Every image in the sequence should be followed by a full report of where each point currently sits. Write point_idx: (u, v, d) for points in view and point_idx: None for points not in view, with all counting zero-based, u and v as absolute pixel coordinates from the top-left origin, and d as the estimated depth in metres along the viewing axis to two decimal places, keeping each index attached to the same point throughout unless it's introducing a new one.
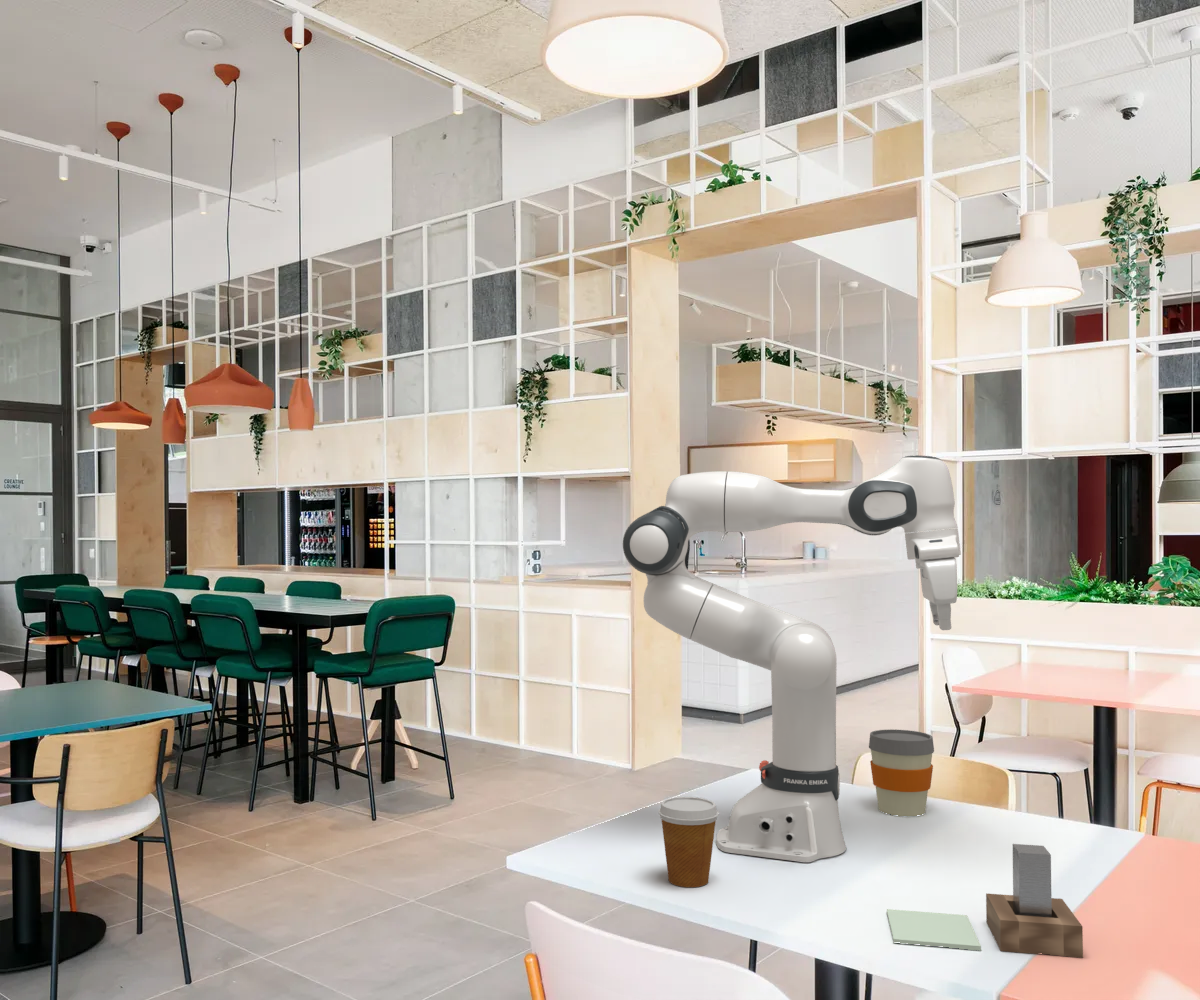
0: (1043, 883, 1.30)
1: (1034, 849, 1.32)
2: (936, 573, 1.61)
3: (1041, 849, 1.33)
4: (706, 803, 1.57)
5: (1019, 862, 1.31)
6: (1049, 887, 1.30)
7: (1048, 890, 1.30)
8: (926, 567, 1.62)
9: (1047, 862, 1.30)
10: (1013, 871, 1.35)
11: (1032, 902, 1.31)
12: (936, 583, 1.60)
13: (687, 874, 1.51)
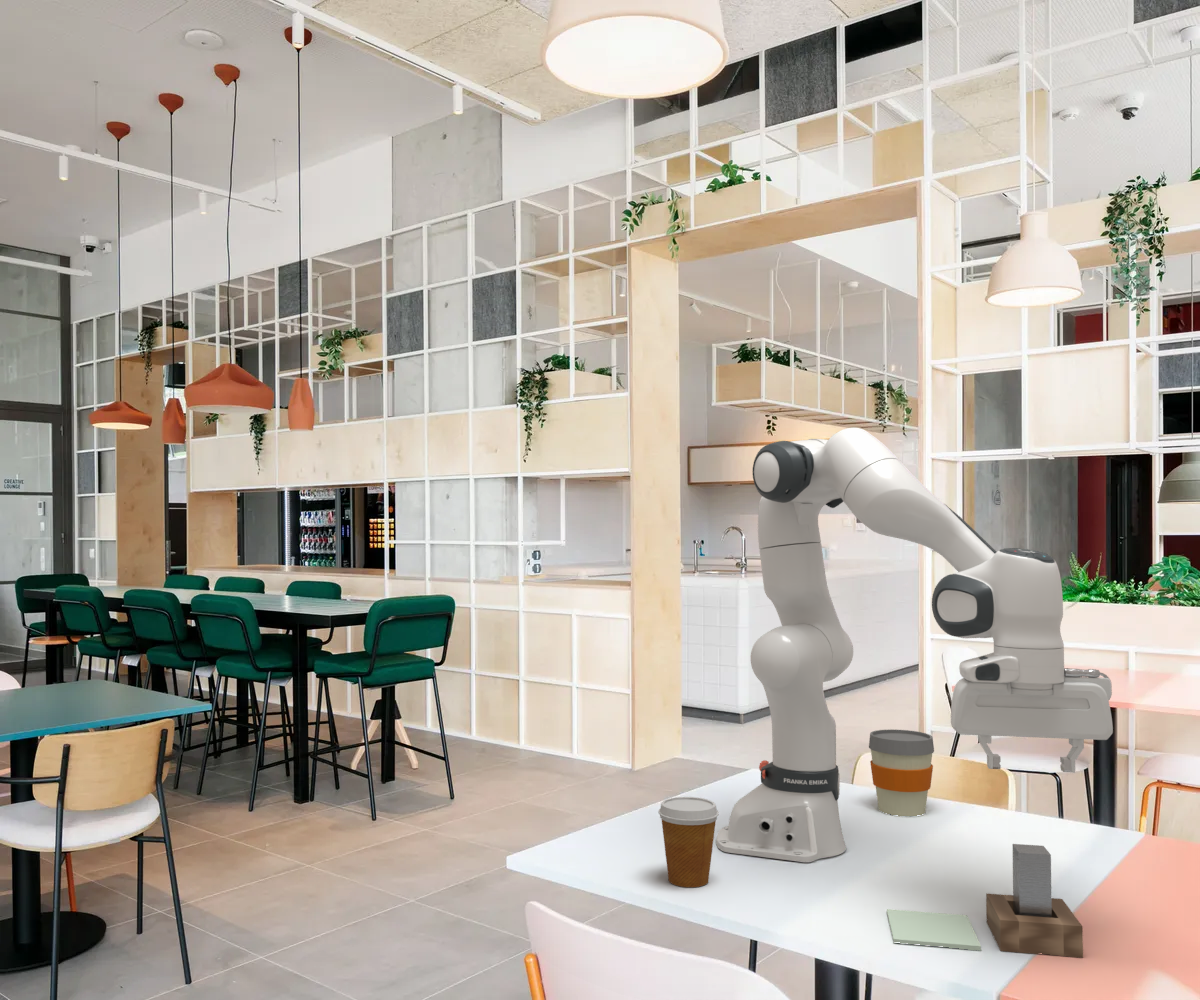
0: (1043, 883, 1.30)
1: (1034, 849, 1.32)
2: (954, 694, 1.37)
3: (1041, 849, 1.33)
4: (706, 803, 1.57)
5: (1019, 862, 1.31)
6: (1049, 887, 1.30)
7: (1048, 890, 1.30)
8: (956, 685, 1.38)
9: (1047, 862, 1.30)
10: (1013, 871, 1.35)
11: (1032, 902, 1.31)
12: (952, 705, 1.37)
13: (687, 874, 1.51)
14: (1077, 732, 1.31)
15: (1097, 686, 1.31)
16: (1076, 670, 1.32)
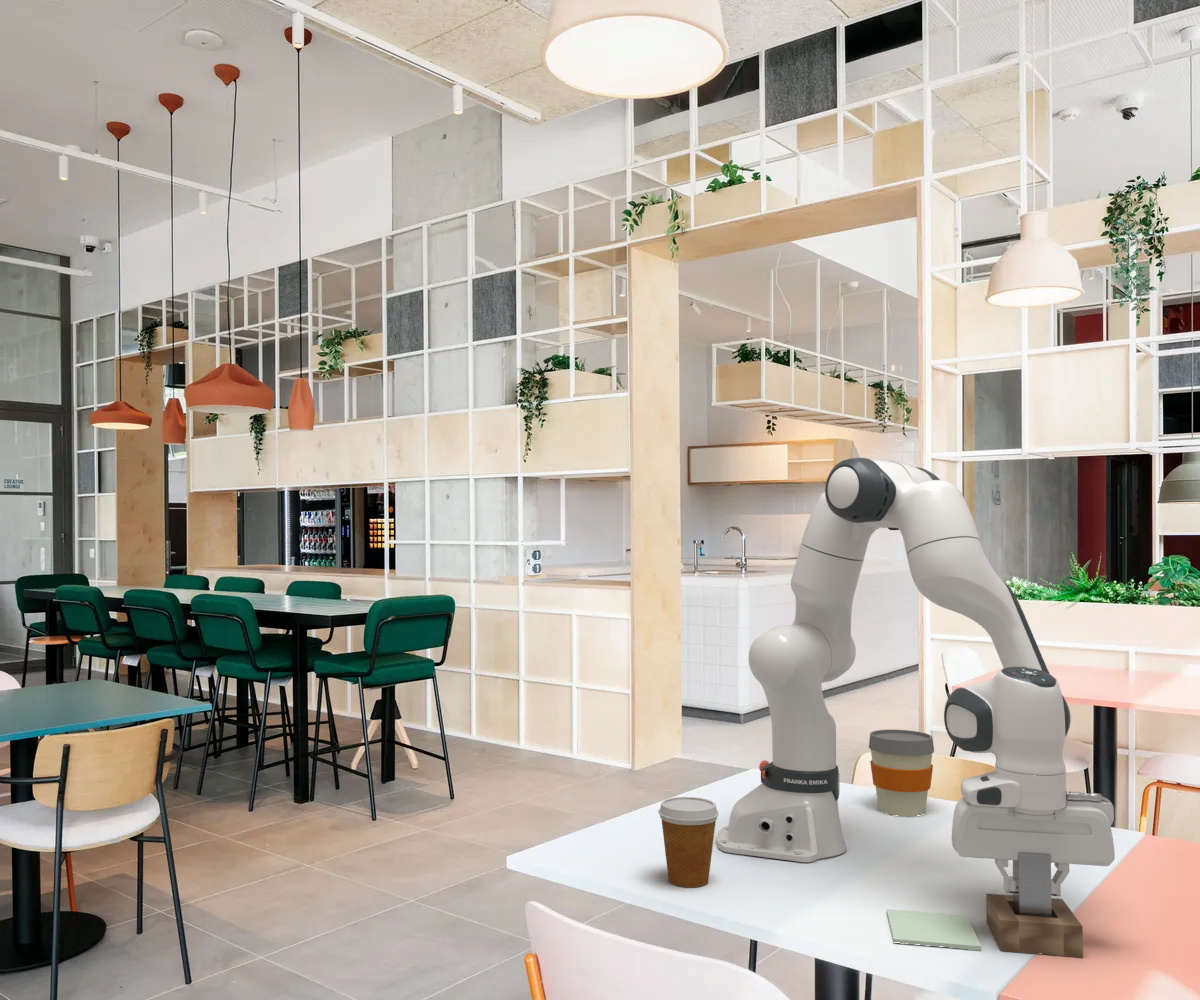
0: (1043, 883, 1.30)
1: None
2: (955, 814, 1.36)
3: None
4: (706, 803, 1.57)
5: (1019, 862, 1.31)
6: (1049, 887, 1.30)
7: (1048, 890, 1.30)
8: None
9: (1047, 862, 1.30)
10: (1013, 871, 1.35)
11: (1032, 901, 1.31)
12: (953, 824, 1.36)
13: (687, 874, 1.51)
14: (1079, 858, 1.30)
15: (1099, 812, 1.30)
16: (1078, 794, 1.32)
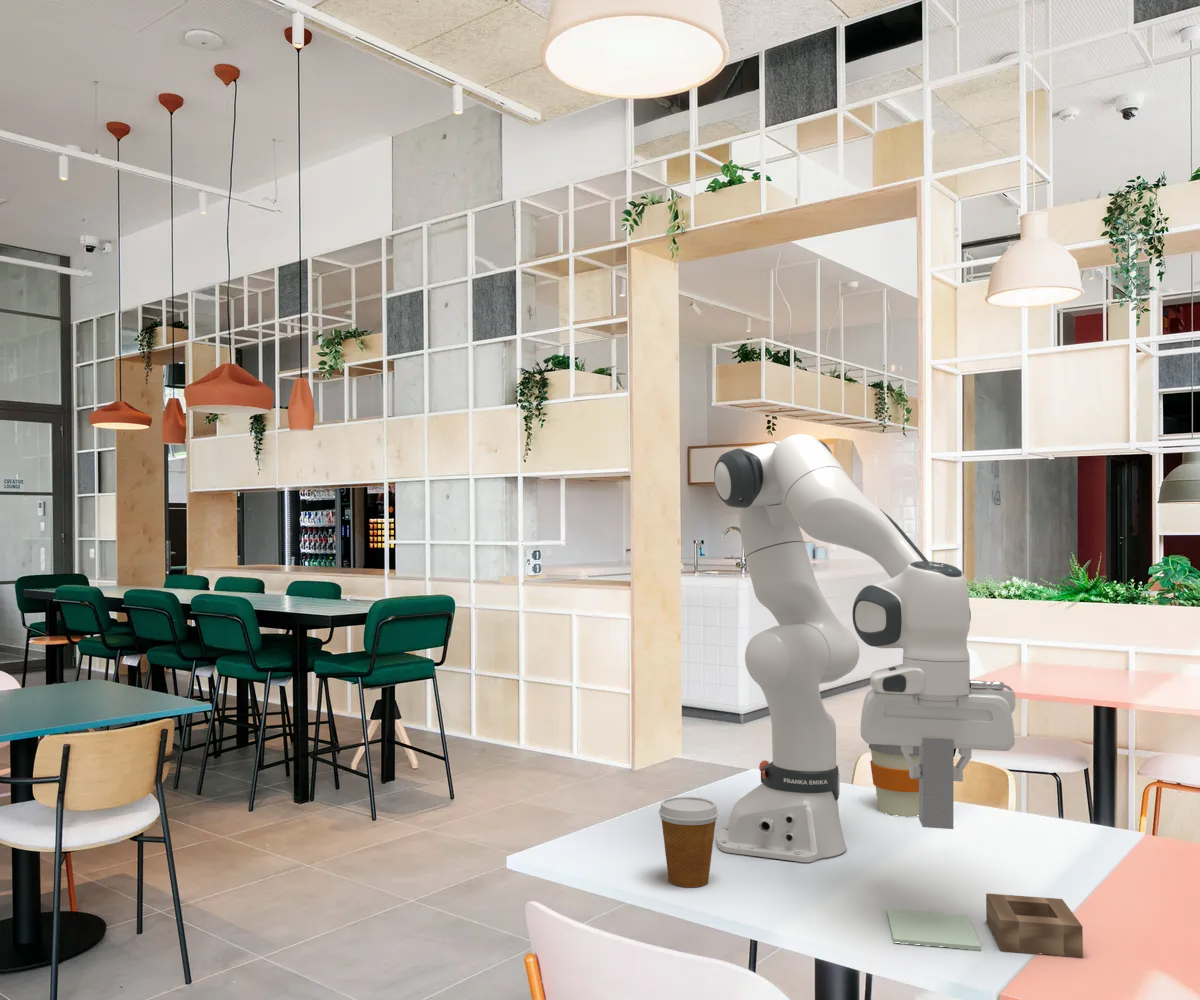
0: (946, 767, 1.34)
1: None
2: (863, 704, 1.39)
3: None
4: (706, 803, 1.57)
5: (923, 748, 1.35)
6: (951, 772, 1.34)
7: (950, 774, 1.34)
8: (867, 695, 1.40)
9: (950, 747, 1.34)
10: (919, 759, 1.38)
11: (935, 786, 1.34)
12: None
13: (687, 874, 1.51)
14: (980, 743, 1.33)
15: (1000, 698, 1.33)
16: (981, 682, 1.35)
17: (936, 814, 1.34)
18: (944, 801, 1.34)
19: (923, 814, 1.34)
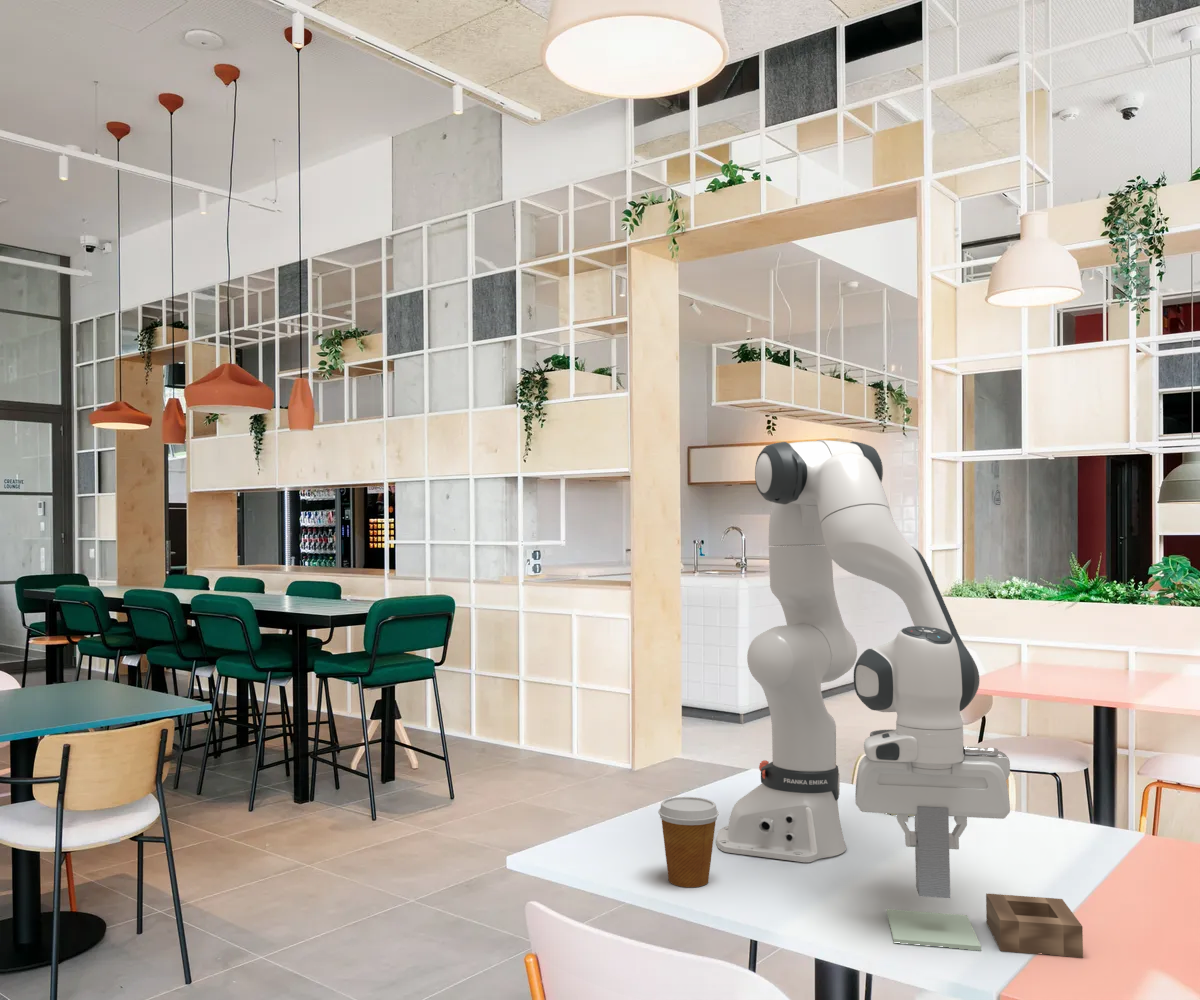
0: (941, 836, 1.33)
1: None
2: (858, 771, 1.39)
3: None
4: (706, 803, 1.57)
5: (918, 816, 1.34)
6: (947, 840, 1.33)
7: (946, 843, 1.33)
8: (861, 761, 1.40)
9: (945, 815, 1.33)
10: (915, 826, 1.37)
11: (930, 854, 1.33)
12: (856, 781, 1.39)
13: (687, 874, 1.51)
14: (975, 811, 1.33)
15: (995, 765, 1.33)
16: (975, 749, 1.34)
17: (933, 883, 1.33)
18: (940, 870, 1.33)
19: (919, 883, 1.33)
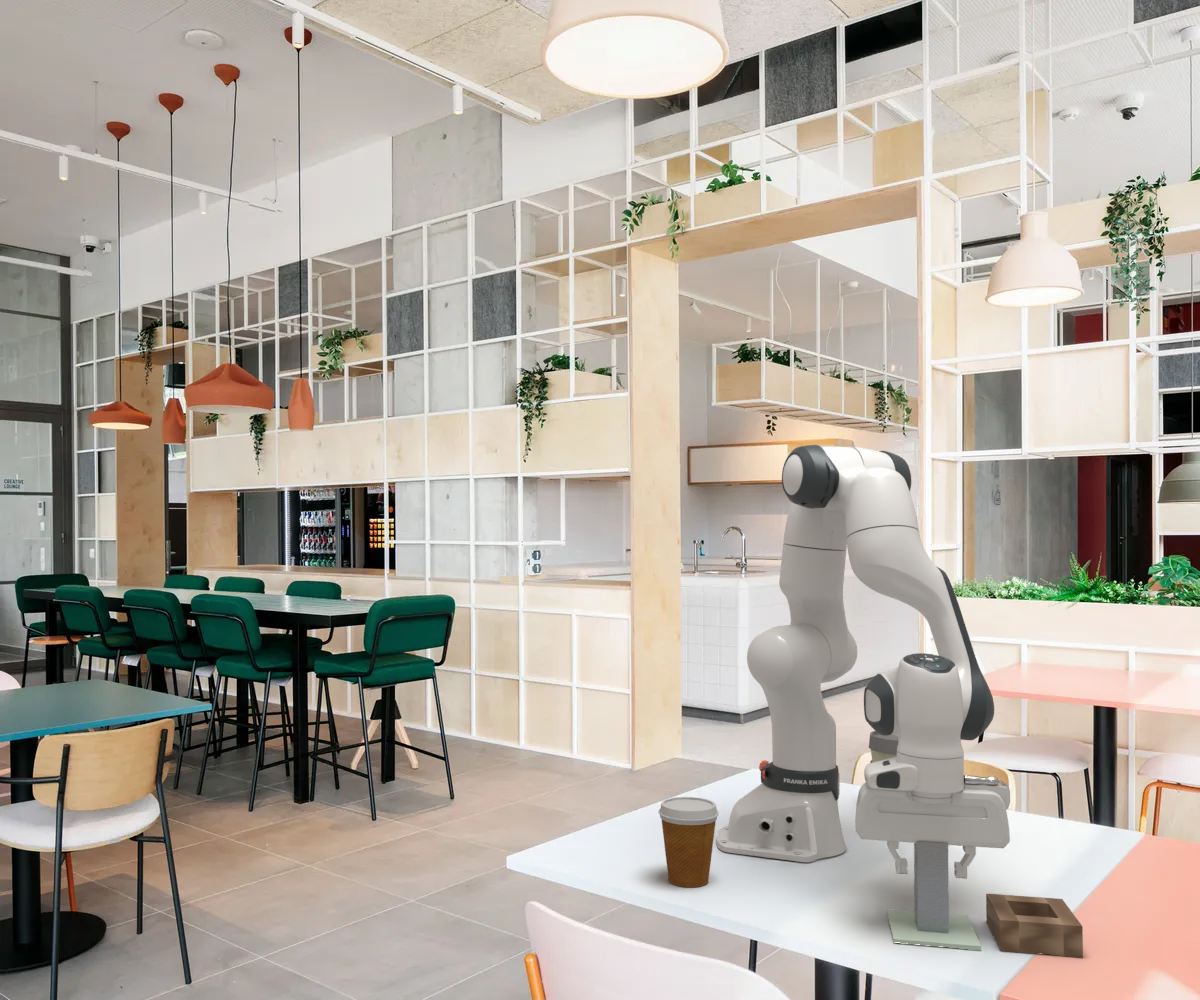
0: (940, 871, 1.33)
1: None
2: (858, 797, 1.38)
3: None
4: (706, 803, 1.57)
5: (918, 851, 1.34)
6: (946, 875, 1.33)
7: (945, 878, 1.33)
8: (861, 787, 1.40)
9: (944, 851, 1.33)
10: (914, 860, 1.37)
11: (930, 889, 1.33)
12: (856, 808, 1.39)
13: (687, 874, 1.51)
14: (975, 840, 1.33)
15: (995, 795, 1.32)
16: (976, 778, 1.34)
17: (931, 918, 1.33)
18: (939, 905, 1.33)
19: (918, 918, 1.33)
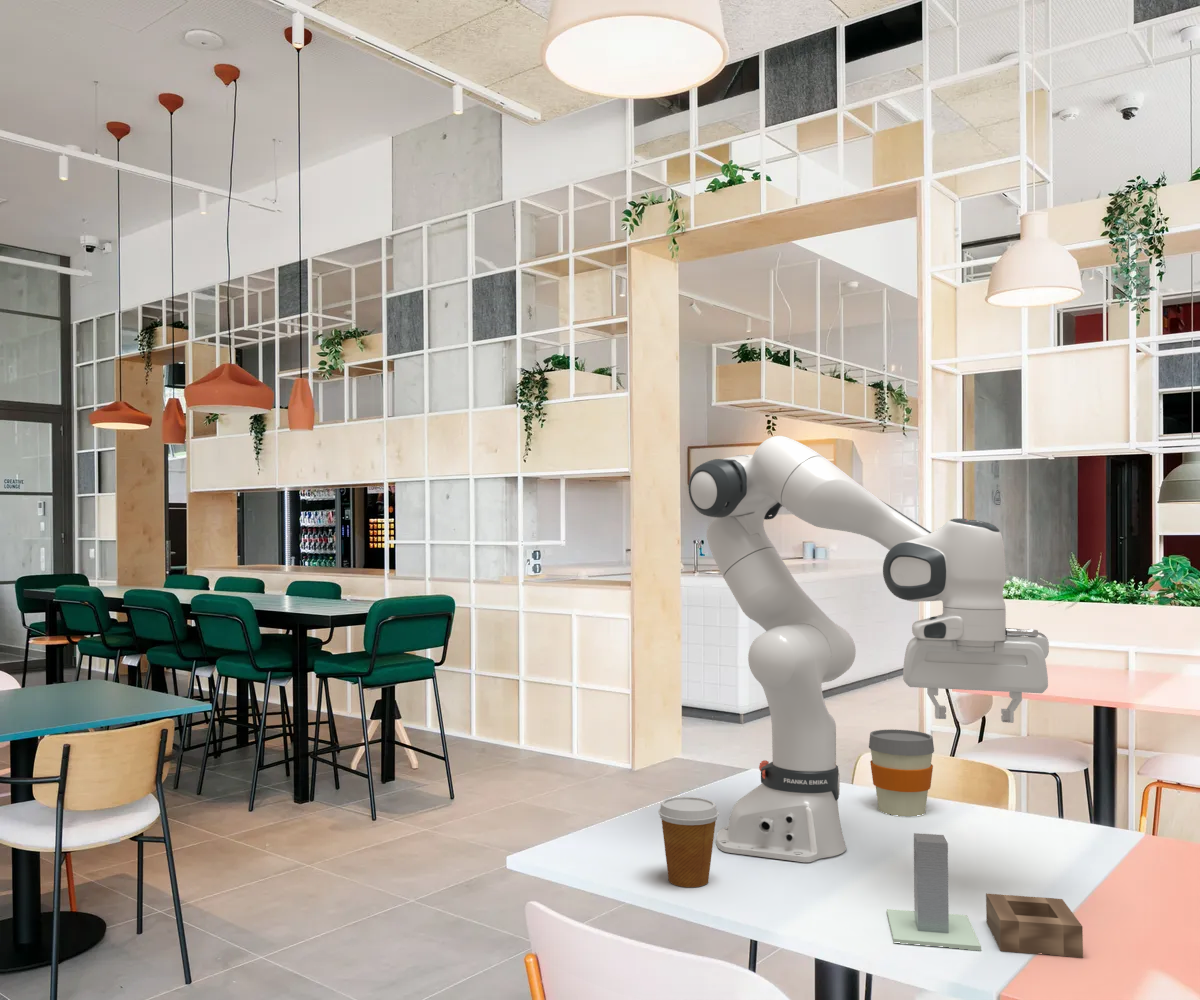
0: (940, 871, 1.33)
1: (933, 838, 1.35)
2: (906, 651, 1.50)
3: (940, 838, 1.35)
4: (706, 803, 1.57)
5: (917, 851, 1.34)
6: (946, 875, 1.33)
7: (945, 878, 1.33)
8: None
9: (944, 851, 1.33)
10: (914, 860, 1.37)
11: (929, 889, 1.33)
12: (904, 661, 1.50)
13: (687, 874, 1.51)
14: (1015, 686, 1.44)
15: (1034, 644, 1.43)
16: (1016, 630, 1.45)
17: (931, 918, 1.33)
18: (939, 905, 1.33)
19: (918, 918, 1.33)
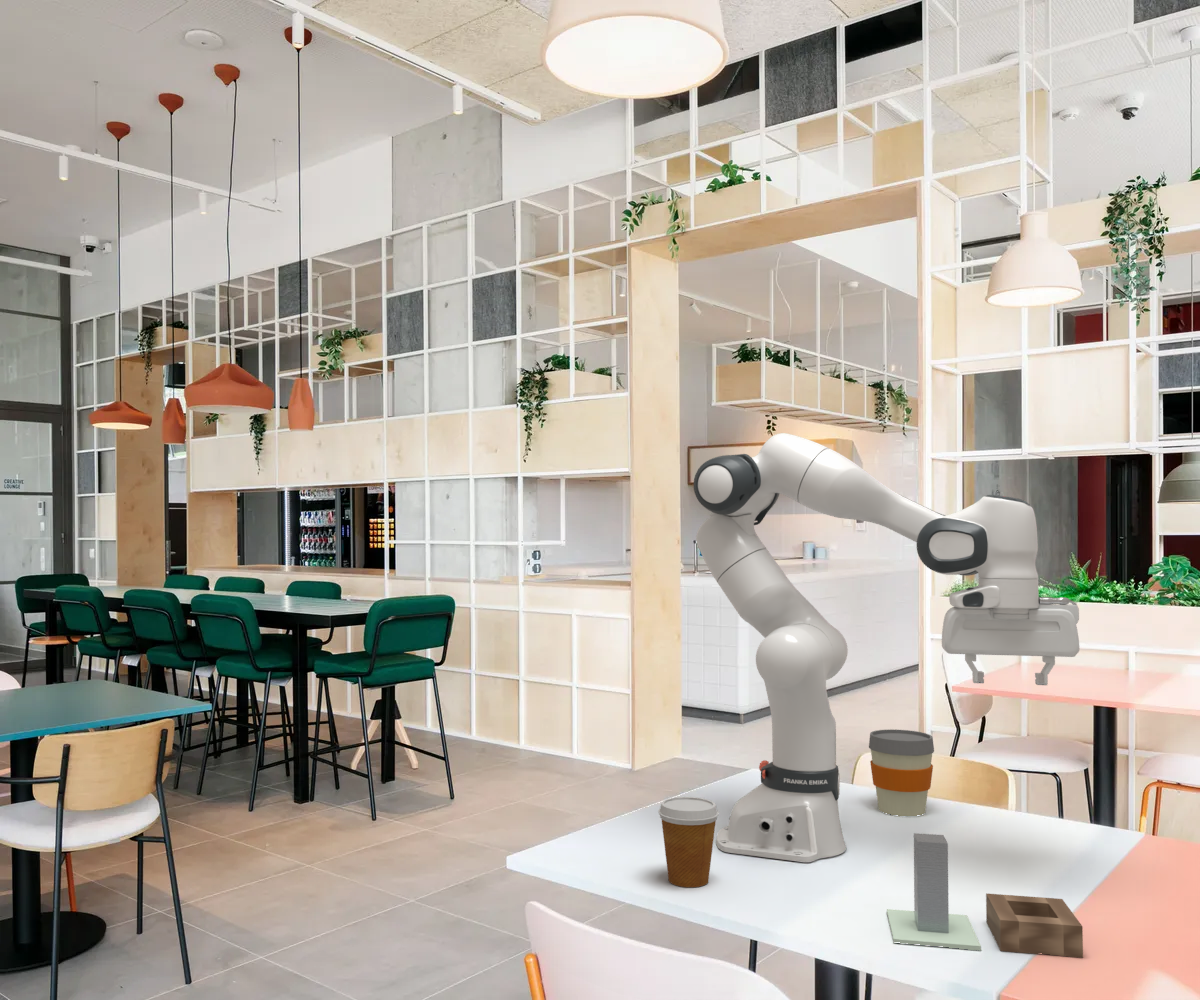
0: (940, 871, 1.33)
1: (933, 838, 1.35)
2: (944, 620, 1.59)
3: (940, 838, 1.35)
4: (706, 803, 1.57)
5: (917, 851, 1.34)
6: (946, 875, 1.33)
7: (945, 878, 1.33)
8: (947, 613, 1.60)
9: (944, 851, 1.33)
10: (914, 860, 1.37)
11: (929, 889, 1.33)
12: (942, 630, 1.59)
13: (687, 874, 1.51)
14: (1049, 650, 1.53)
15: (1066, 611, 1.53)
16: (1049, 598, 1.55)
17: (931, 918, 1.33)
18: (939, 905, 1.33)
19: (918, 918, 1.33)
